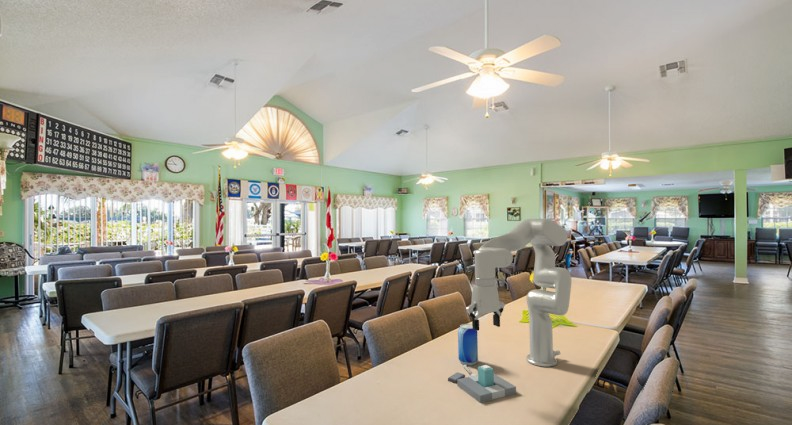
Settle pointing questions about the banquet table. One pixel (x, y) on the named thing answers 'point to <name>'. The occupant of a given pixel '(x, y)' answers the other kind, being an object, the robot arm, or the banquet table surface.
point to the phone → (456, 377)
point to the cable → (468, 370)
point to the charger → (485, 376)
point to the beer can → (467, 344)
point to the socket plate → (486, 388)
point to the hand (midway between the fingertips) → (486, 327)
